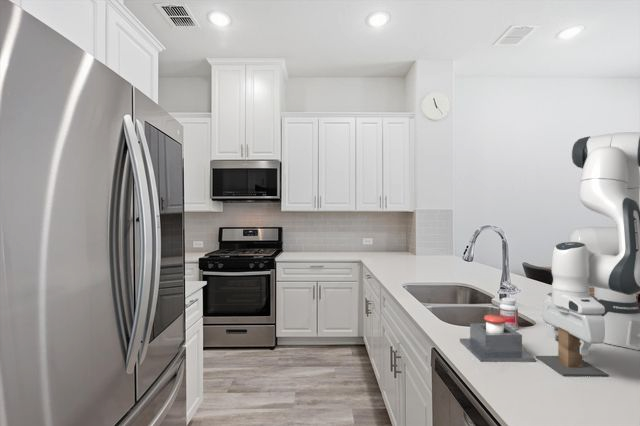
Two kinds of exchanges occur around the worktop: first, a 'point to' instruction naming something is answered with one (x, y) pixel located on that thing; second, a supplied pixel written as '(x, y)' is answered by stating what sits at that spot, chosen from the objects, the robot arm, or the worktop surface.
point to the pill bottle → (509, 312)
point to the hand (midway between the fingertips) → (570, 347)
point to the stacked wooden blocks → (568, 349)
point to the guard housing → (496, 345)
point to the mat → (565, 371)
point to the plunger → (494, 323)
